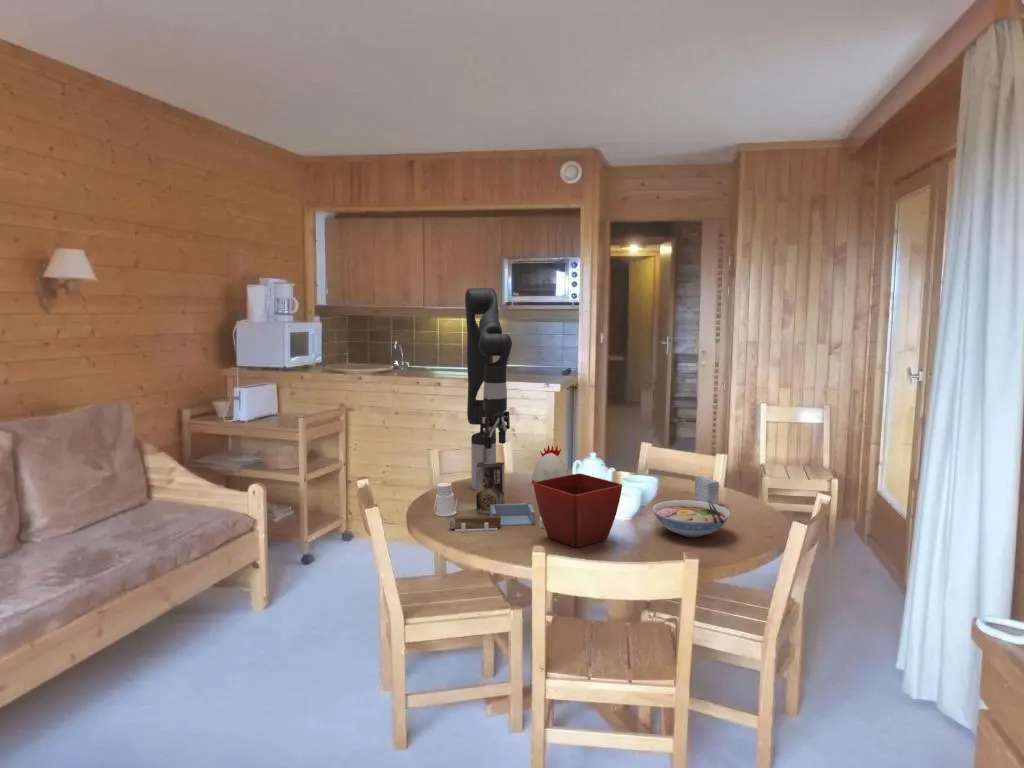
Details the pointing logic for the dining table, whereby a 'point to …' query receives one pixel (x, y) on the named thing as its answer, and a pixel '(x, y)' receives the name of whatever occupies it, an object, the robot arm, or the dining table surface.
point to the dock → (514, 513)
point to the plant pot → (577, 508)
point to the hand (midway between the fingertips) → (495, 445)
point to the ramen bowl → (691, 517)
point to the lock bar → (476, 522)
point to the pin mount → (488, 528)
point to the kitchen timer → (549, 466)
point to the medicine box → (706, 490)
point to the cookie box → (489, 485)
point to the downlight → (445, 500)
